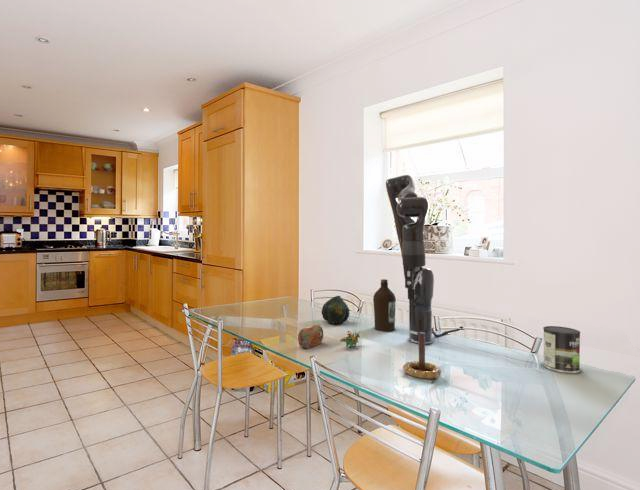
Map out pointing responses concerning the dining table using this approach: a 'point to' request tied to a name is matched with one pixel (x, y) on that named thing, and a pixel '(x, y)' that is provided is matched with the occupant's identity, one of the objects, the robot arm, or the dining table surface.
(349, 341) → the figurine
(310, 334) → the reddish brown stone
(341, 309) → the squash
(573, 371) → the coffee can
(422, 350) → the rack
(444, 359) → the dining table surface
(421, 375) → the brass ring
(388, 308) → the olive oil
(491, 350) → the dining table surface
